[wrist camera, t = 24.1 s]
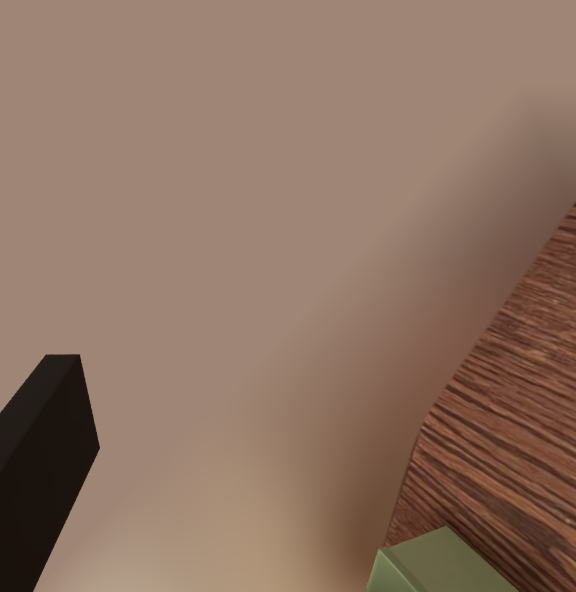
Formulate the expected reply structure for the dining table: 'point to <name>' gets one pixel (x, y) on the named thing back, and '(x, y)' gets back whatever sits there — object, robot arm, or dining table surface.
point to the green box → (434, 567)
